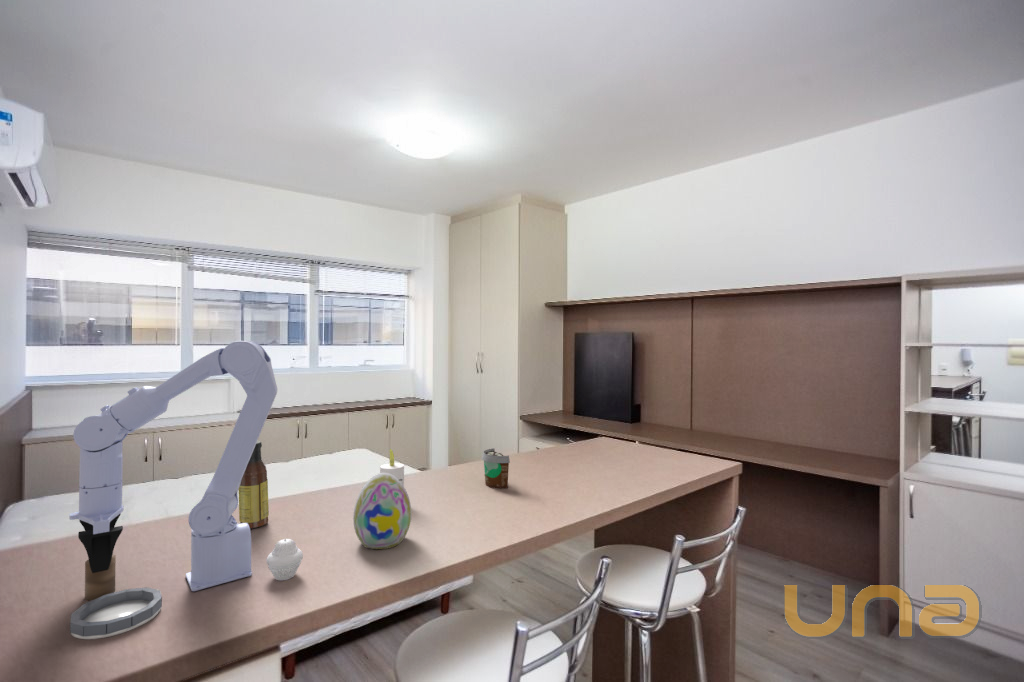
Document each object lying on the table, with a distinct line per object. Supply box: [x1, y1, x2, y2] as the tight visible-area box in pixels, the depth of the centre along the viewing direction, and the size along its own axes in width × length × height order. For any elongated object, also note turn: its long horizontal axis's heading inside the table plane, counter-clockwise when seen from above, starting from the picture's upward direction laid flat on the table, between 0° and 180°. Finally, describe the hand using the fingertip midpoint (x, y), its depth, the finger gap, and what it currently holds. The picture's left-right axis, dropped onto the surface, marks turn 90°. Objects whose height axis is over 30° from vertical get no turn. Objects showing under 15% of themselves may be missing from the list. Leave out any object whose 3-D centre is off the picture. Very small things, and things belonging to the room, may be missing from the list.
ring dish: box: [69, 587, 163, 640], centre depth 76 cm, size 11×11×2 cm
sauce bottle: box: [238, 440, 270, 530], centre depth 116 cm, size 7×6×20 cm
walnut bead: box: [84, 553, 117, 601], centre depth 84 cm, size 4×4×6 cm
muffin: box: [266, 538, 304, 581], centre depth 90 cm, size 6×6×7 cm
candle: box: [379, 448, 405, 487], centre depth 130 cm, size 6×6×15 cm
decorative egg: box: [352, 472, 412, 550], centre depth 106 cm, size 12×12×15 cm
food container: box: [481, 447, 511, 490], centre depth 149 cm, size 12×6×10 cm, turn 25°
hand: (100, 562), depth 84 cm, fingers open, 7 cm apart
